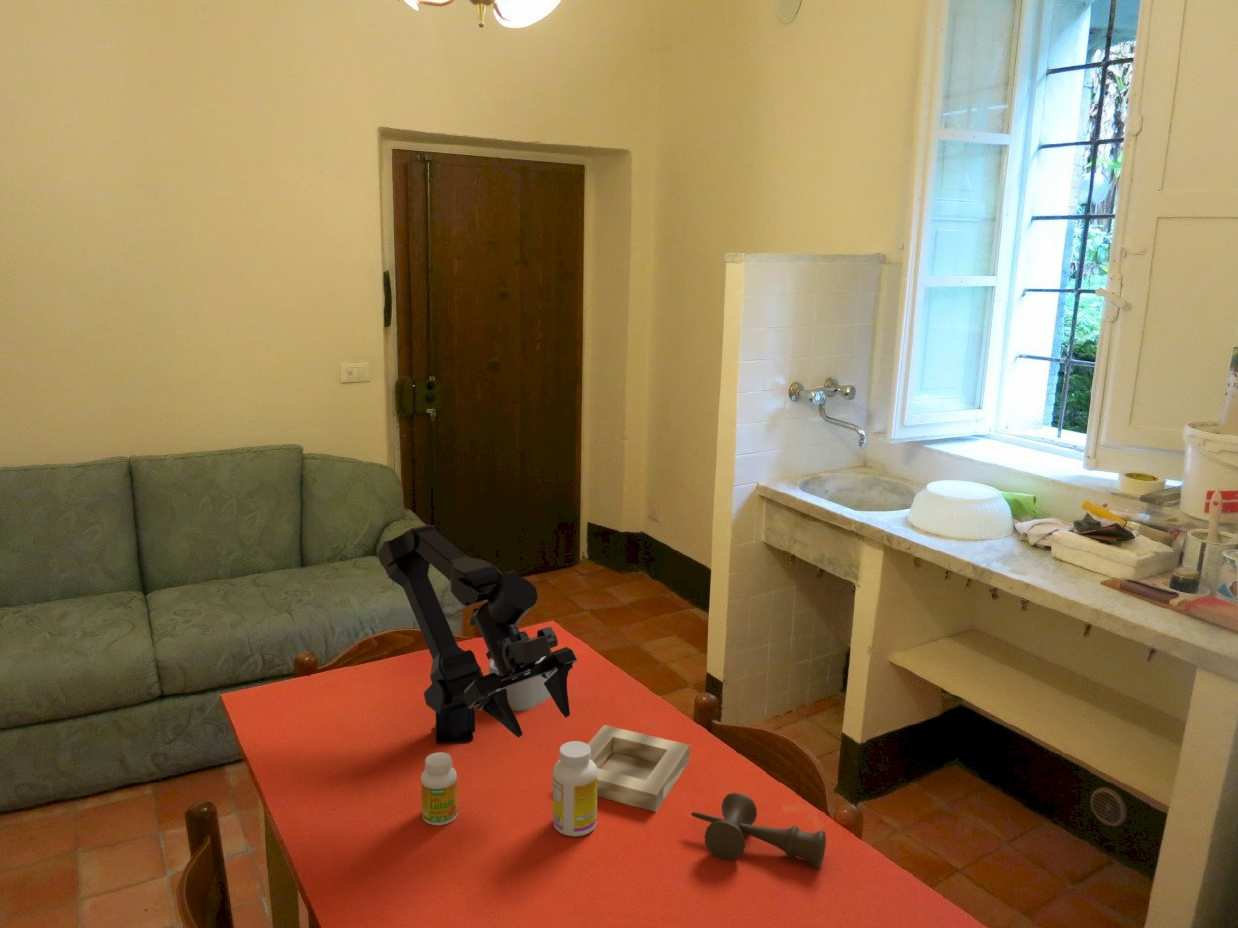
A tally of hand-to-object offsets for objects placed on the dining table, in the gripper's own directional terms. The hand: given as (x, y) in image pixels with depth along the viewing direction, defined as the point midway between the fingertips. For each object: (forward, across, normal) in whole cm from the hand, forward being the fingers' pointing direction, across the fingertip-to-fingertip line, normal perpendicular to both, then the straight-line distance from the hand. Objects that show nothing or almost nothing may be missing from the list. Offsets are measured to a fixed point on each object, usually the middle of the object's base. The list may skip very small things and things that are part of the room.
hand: (544, 726), depth 143 cm
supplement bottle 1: (+4, -14, +15) cm, 21 cm away
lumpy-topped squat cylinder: (-12, +19, +32) cm, 39 cm away
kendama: (+30, +17, -11) cm, 36 cm away
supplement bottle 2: (+15, 0, +4) cm, 15 cm away
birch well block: (+11, +15, +7) cm, 20 cm away
